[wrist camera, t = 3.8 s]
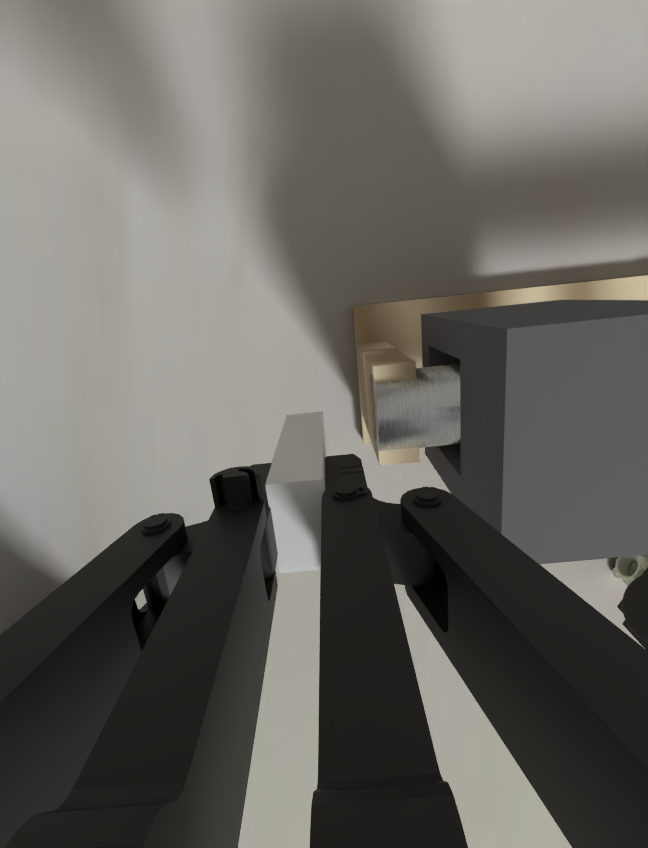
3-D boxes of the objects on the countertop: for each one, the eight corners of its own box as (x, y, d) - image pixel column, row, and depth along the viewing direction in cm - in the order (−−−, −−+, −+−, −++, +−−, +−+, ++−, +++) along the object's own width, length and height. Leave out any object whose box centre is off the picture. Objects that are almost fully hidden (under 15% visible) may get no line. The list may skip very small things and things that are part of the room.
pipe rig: (362, 439, 32) (382, 509, 21) (352, 306, 29) (369, 310, 18) (744, 402, 31) (961, 456, 21) (774, 261, 28) (1043, 240, 18)
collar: (425, 453, 26) (500, 567, 15) (420, 314, 24) (507, 328, 13) (552, 441, 26) (722, 548, 15) (561, 299, 23) (775, 301, 12)
